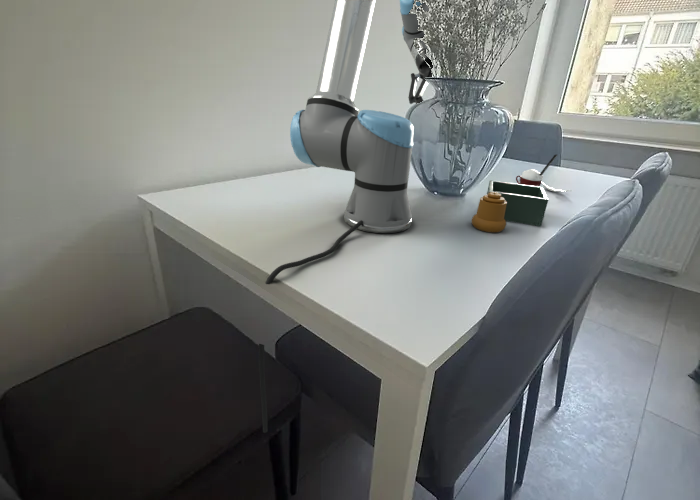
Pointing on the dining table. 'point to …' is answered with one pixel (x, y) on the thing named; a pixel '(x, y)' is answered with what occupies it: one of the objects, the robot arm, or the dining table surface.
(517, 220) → the bin
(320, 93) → the robot arm
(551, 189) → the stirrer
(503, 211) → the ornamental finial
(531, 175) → the cocoa
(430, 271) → the dining table surface
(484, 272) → the dining table surface
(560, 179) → the dining table surface
